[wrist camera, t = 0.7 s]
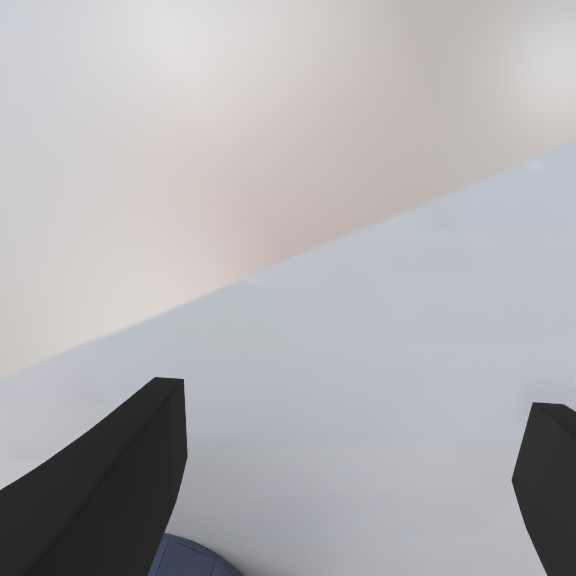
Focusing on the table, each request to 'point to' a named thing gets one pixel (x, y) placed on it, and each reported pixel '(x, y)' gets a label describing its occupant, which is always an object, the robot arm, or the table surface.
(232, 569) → the canister
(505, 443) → the table surface
